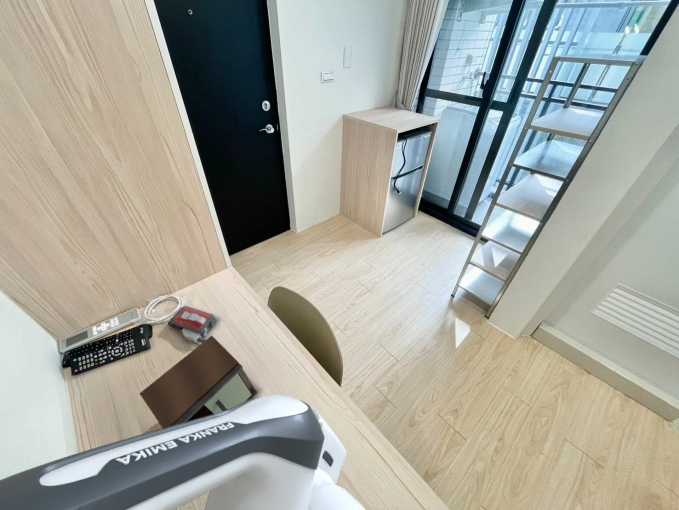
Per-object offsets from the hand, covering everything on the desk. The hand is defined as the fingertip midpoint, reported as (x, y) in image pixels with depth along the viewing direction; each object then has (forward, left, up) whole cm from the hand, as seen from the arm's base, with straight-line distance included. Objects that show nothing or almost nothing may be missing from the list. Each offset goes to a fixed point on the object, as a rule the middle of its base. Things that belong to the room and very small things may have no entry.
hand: (261, 455), depth 46 cm
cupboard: (0, +21, -15) cm, 26 cm away
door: (+2, +13, -13) cm, 19 cm away
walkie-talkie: (+9, +42, -15) cm, 46 cm away
